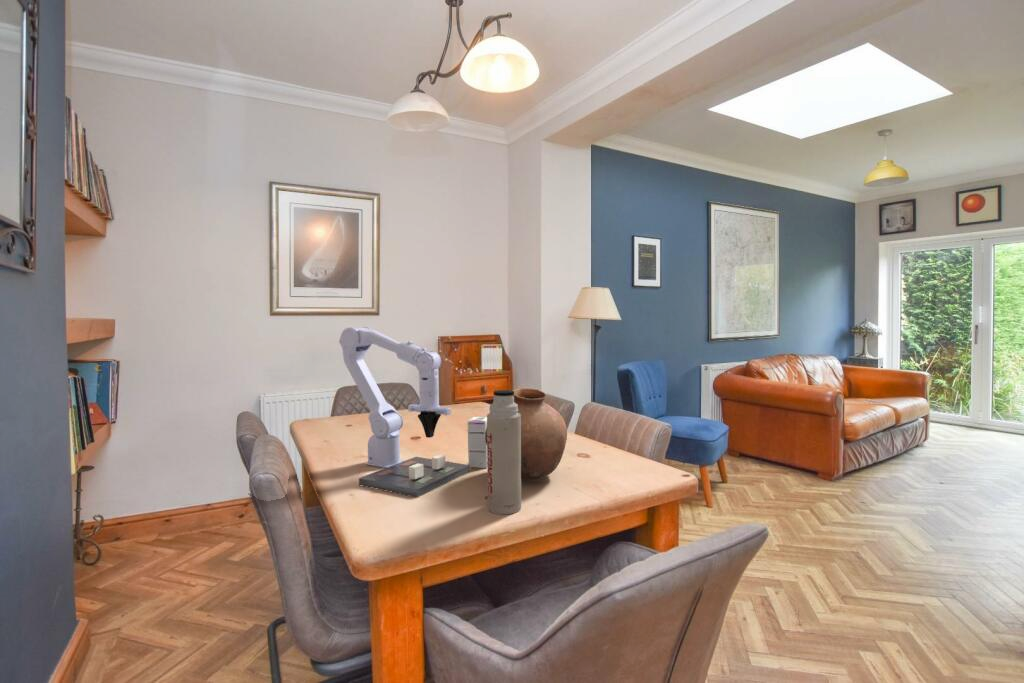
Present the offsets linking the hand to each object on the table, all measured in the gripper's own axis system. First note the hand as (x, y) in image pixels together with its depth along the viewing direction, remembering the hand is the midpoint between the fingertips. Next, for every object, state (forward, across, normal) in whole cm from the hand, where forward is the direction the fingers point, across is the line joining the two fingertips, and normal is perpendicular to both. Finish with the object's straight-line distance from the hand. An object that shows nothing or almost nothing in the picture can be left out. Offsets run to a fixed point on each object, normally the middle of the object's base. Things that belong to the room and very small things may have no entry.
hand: (429, 436), depth 153 cm
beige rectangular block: (+7, +7, -15) cm, 18 cm away
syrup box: (+10, +12, +9) cm, 18 cm away
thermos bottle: (+10, +36, -18) cm, 41 cm away
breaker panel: (+9, +3, -10) cm, 14 cm away
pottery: (+10, +30, +5) cm, 32 cm away
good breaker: (+7, +7, -5) cm, 11 cm away
